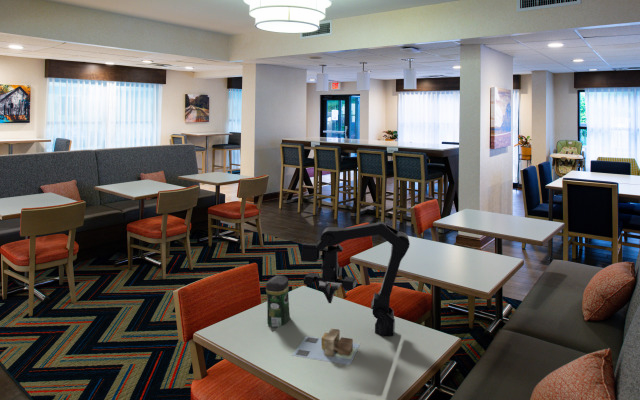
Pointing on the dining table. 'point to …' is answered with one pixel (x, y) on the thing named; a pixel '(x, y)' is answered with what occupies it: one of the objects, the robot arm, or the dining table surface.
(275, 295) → the coffee jar
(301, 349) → the pale blue flat board
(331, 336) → the tunnel
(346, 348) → the tan u-shaped piece
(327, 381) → the dining table surface
